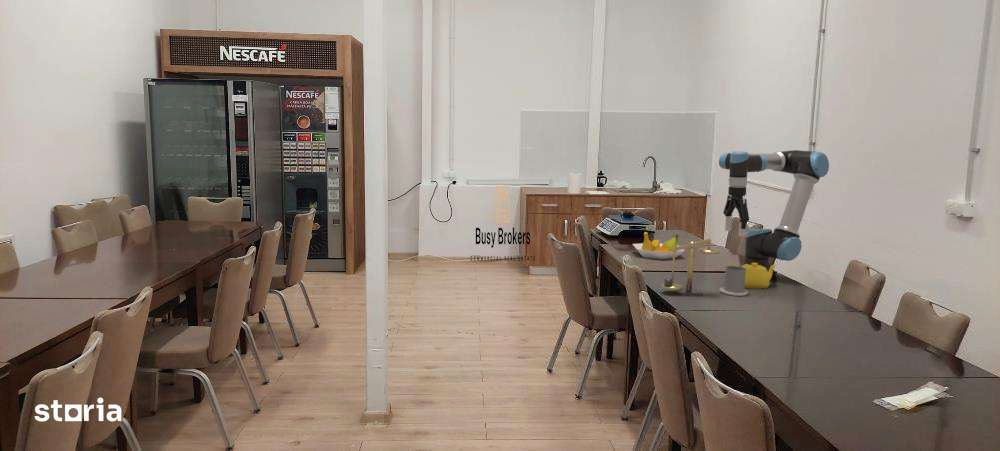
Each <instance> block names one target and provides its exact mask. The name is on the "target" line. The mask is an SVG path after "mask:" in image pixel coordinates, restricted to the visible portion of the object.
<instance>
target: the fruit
mask: <svg viewBox="0 0 1000 451" xmlns="http://www.w3.org/2000/svg"><path fill="white" fill-rule="evenodd" d="M679 236H680V235H679V234H676V235H675V237H671V238H670V239H669V240H666V241H664V242H663V243H661V242H660V239H655V240H652V241H651V240H650V239H649V232H647V231H644V233H643V237H644V238H643V242H642V243H632V246H633V247H634V248H635V250H637V252H638V253H639V254H640V256H642V257H643V258H646V259H655V260H660V261H661V260H670V259H672V260H673V248H675V247H679V246H680V245H679V243H678V242H679V240H678V239H679ZM685 250H686V249H682V250H678V251H675V259H677V258H678V257H679V256H680V255H681V254H683V253H684V252H685Z"/></svg>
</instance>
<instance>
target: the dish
mask: <svg viewBox="0 0 1000 451" xmlns="http://www.w3.org/2000/svg"><path fill="white" fill-rule="evenodd" d="M719 291H720V293H721V294H723V295H726V296H731V295H732V296H733V297H745V296H747V295H748V294H749V290H747V289H746V288H744V292H741V293H734V292H728V291H725V290H724V287H722V286H721V287H719Z"/></svg>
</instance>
